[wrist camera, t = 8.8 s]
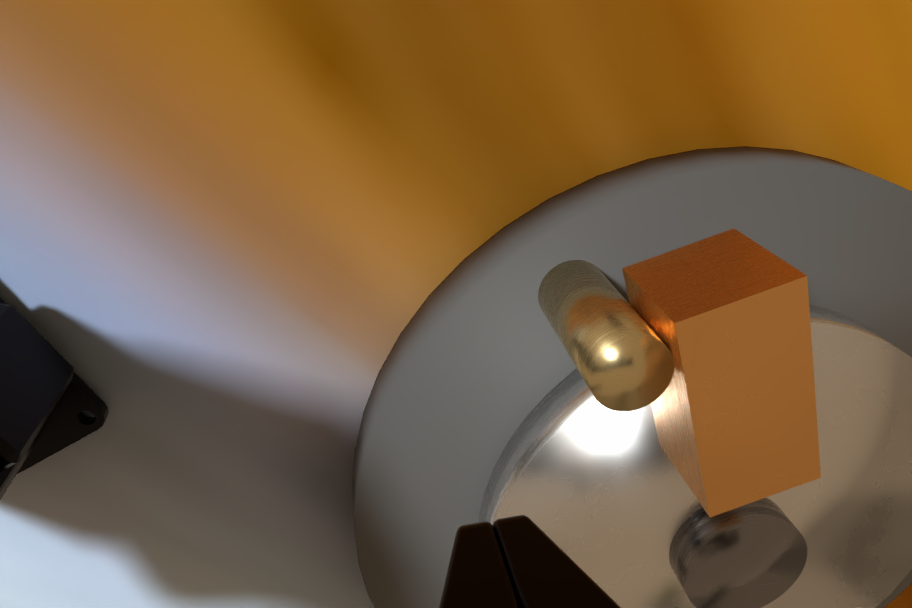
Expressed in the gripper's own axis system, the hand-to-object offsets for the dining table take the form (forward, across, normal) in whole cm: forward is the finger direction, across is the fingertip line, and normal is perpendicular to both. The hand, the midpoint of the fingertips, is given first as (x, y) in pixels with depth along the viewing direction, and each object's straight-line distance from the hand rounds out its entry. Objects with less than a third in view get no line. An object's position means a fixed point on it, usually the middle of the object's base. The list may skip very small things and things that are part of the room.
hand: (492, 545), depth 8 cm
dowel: (+11, -4, +2) cm, 12 cm away
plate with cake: (+11, -9, +10) cm, 17 cm away
